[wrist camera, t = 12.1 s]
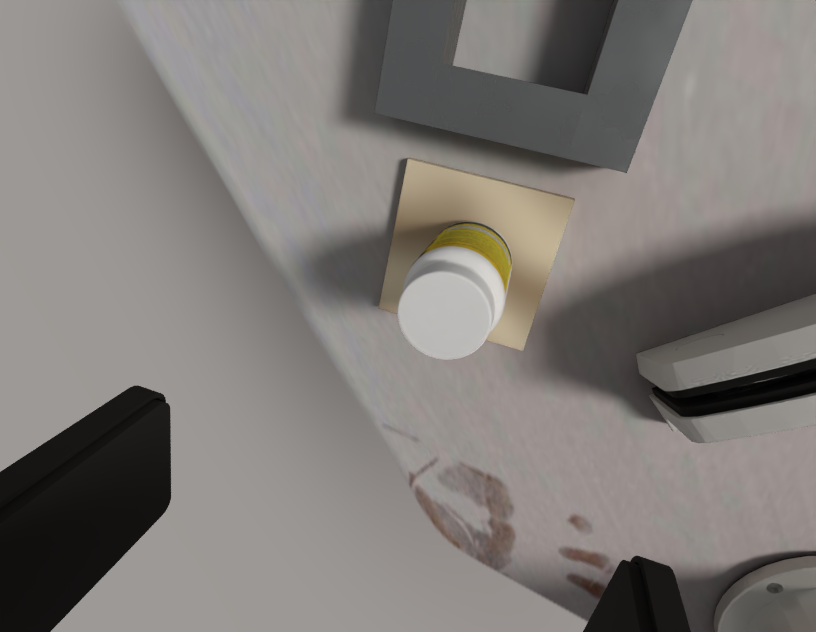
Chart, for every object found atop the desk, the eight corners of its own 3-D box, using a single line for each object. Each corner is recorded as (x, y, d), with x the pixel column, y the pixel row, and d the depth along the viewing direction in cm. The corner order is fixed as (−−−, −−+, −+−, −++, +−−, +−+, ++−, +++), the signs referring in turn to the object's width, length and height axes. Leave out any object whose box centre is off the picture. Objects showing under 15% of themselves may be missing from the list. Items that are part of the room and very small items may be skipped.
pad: (523, 346, 30) (522, 350, 29) (381, 304, 31) (378, 308, 30) (574, 198, 26) (574, 200, 25) (410, 157, 27) (407, 158, 27)
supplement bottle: (433, 214, 27) (391, 252, 20) (519, 225, 26) (510, 269, 19) (425, 295, 29) (384, 358, 22) (505, 307, 28) (492, 378, 21)
